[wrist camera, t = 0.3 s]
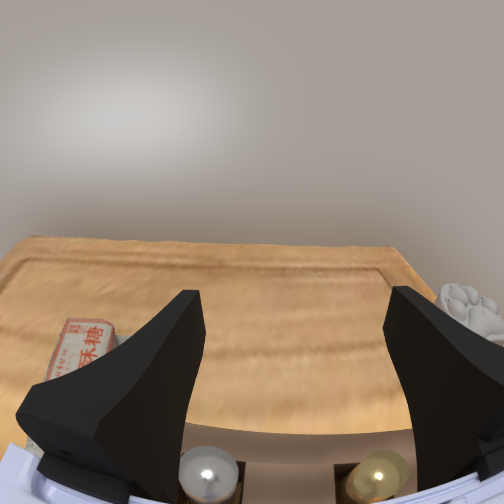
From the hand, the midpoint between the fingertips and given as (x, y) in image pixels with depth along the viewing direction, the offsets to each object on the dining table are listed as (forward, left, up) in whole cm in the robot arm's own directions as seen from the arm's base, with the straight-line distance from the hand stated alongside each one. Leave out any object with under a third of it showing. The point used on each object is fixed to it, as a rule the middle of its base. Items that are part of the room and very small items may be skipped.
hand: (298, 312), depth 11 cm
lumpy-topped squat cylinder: (+18, -28, -21) cm, 40 cm away
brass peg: (-3, -8, -17) cm, 19 cm away
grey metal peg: (-3, +3, -17) cm, 18 cm away
